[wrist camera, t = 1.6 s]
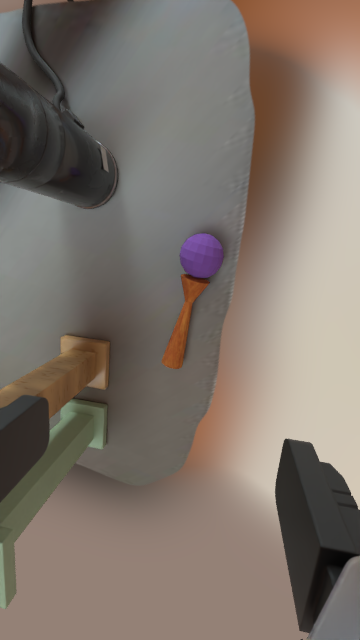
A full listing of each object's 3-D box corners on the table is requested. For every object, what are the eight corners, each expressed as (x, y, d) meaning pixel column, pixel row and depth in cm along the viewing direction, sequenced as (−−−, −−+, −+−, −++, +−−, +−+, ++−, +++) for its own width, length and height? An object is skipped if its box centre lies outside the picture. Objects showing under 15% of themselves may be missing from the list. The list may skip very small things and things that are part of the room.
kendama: (146, 362, 45) (179, 227, 39) (163, 349, 51) (194, 229, 44) (182, 378, 44) (223, 240, 37) (195, 363, 49) (233, 240, 42)
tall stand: (60, 377, 53) (-181, 548, 22) (59, 334, 51) (-203, 454, 20) (113, 386, 52) (-65, 583, 21) (115, 342, 50) (-77, 485, 19)
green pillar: (60, 435, 56) (-82, 583, 31) (60, 395, 54) (-91, 518, 29) (111, 445, 54) (6, 609, 29) (113, 405, 52) (2, 543, 27)
